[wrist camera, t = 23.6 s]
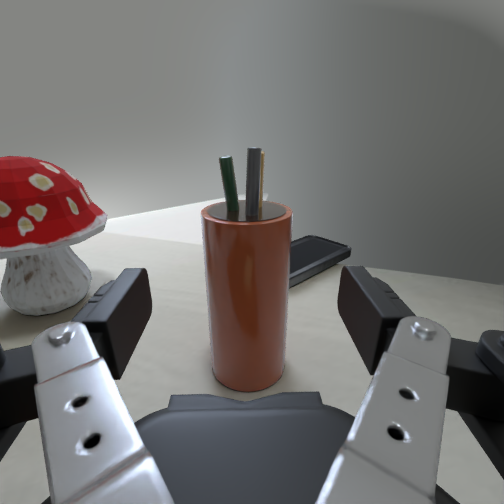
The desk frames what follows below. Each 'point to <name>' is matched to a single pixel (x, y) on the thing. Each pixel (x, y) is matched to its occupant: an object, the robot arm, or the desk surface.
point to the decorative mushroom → (43, 235)
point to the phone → (314, 257)
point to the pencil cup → (247, 280)
